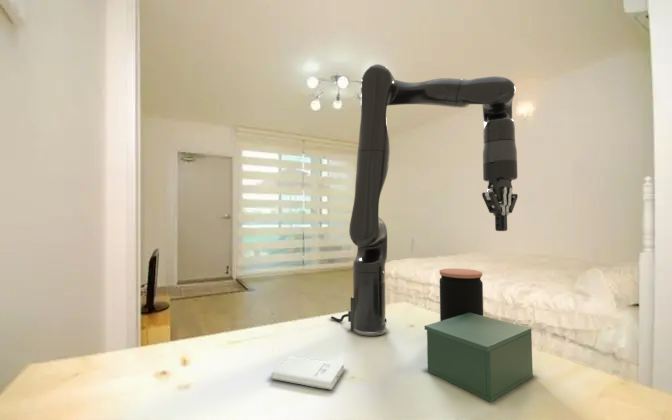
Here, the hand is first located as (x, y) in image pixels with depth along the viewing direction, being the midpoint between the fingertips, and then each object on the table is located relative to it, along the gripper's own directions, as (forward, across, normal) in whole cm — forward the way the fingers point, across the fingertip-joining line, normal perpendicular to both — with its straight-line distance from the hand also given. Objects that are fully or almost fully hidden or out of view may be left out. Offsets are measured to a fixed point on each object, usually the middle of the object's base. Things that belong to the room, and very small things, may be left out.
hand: (501, 230), depth 76 cm
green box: (+29, +16, +3) cm, 33 cm away
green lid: (+20, +17, +3) cm, 26 cm away
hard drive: (+29, +45, -16) cm, 56 cm away
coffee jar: (+29, +2, -10) cm, 31 cm away
